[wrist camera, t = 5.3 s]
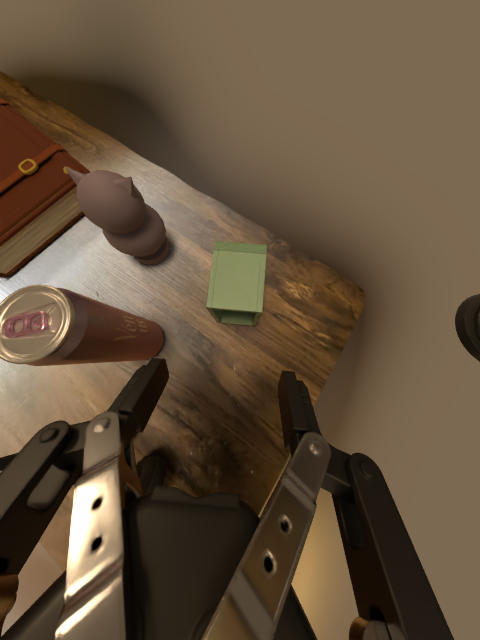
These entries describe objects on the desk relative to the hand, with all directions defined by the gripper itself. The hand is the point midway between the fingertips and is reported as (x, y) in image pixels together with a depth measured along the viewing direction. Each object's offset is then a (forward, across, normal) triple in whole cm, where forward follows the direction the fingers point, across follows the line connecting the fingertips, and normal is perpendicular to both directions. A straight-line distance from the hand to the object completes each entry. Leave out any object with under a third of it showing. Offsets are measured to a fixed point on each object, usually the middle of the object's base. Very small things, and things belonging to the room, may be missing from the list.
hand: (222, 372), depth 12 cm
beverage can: (+12, +14, +9) cm, 20 cm away
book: (+30, +45, -10) cm, 55 cm away
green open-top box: (+17, 0, +3) cm, 17 cm away
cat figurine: (+23, +16, -2) cm, 28 cm away
